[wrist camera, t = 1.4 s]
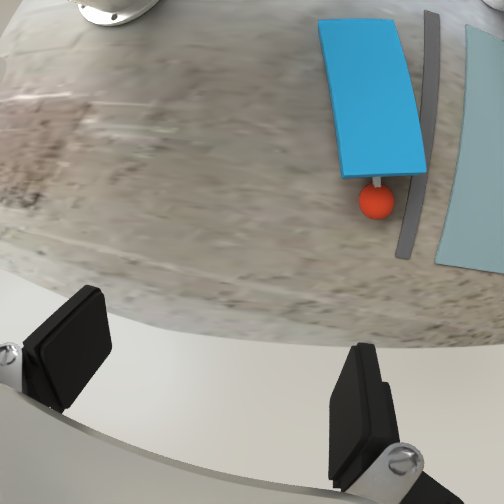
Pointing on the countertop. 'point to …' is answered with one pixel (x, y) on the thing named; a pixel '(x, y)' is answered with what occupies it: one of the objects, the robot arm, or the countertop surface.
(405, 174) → the lever
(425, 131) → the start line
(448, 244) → the mat
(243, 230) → the countertop surface
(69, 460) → the robot arm
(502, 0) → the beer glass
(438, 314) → the countertop surface
